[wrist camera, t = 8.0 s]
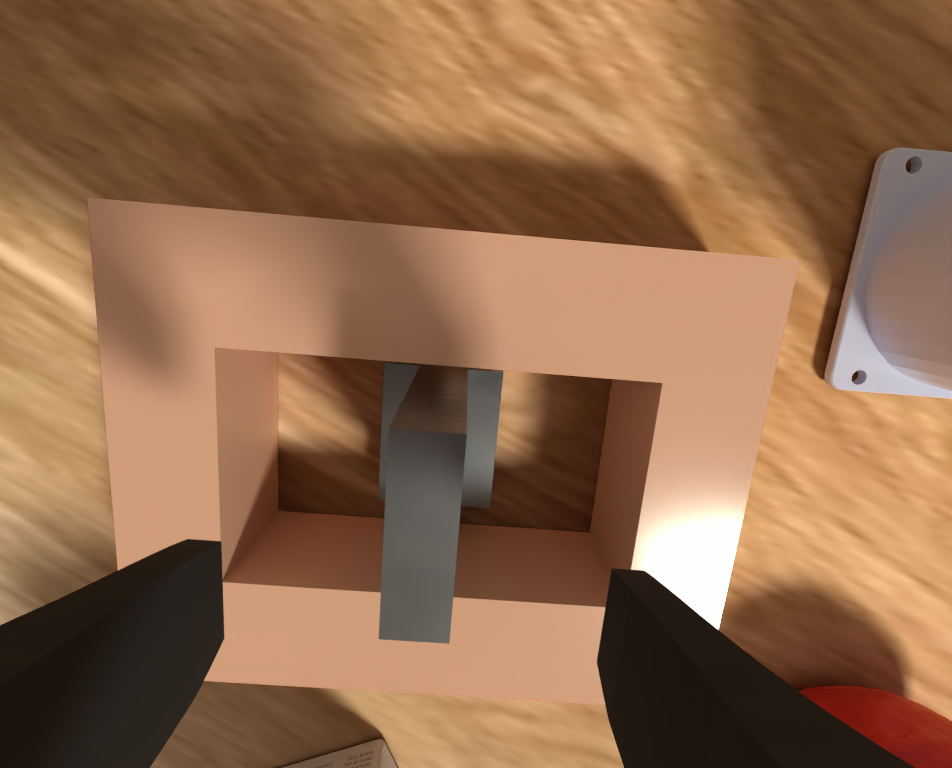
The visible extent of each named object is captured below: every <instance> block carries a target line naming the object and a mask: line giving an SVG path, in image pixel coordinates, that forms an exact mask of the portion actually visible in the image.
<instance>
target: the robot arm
mask: <svg viewBox="0 0 952 768" xmlns="http://www.w3.org/2000/svg"><path fill="white" fill-rule="evenodd" d="M908 160H910V162H911V170H910V172H909V173H908V172H907V170H906V163H907V161H908ZM856 371H858V377H857V379H856V380H855V381H853V382H852V375H853V373H855V372H856ZM824 379H825V381H826V383H827V384H828V385H829V386H830V387H833V388H836V389H840V390H850V391H862V392H875V393H887V394H900V395H912V396H925V397H937V398H950V399H952V152H947V151H936V150H926V149H915V148H905V147H899V148H894V149H890V150H887V151H885V152H884V153H882V154H881V155H880V156H879V157H878V159H877V161H876V163H875V167H874V171H873V175H872V179H871V183H870V188H869V192H868V196H867V200H866V204H865V208H864V212H863V217H862V221H861V225H860V229H859V233H858V237H857V241H856V245H855V250H854V254H853V258H852V262H851V266H850V270H849V274H848V279H847V283H846V287H845V291H844V295H843V299H842V303H841V308H840V312H839V316H838V320H837V324H836V328H835V332H834V336H833V341H832V345H831V349H830V353H829V357H828V361H827V365H826V370H825V376H824ZM223 640H224V608H223V576H222V545H221V541H209V540H195V539H186V540H184V541H181V542H179V543H176V544H174V545H171V546H169V547H167V548H164V549H162V550H160V551H158V552H156V553H154V554H151V555H149V556H147V557H145V558H143V559H141V560H139V561H137V562H135V563H133V564H130V565H128V566H126V567H124V568H122V569H120V570H118V571H116V572H114V573H112V574H110V575H108V576H106V577H104V578H102V579H99V580H97V581H95V582H93V583H91V584H89V585H87V586H85V587H83V588H81V589H79V590H77V591H75V592H72V593H70V594H68V595H66V596H64V597H62V598H60V599H58V600H56V601H53V602H51V603H49V604H47V605H44V606H42V607H40V608H38V609H36V610H33V611H31V612H29V613H27V614H24V615H22V616H20V617H18V618H16V619H13V620H11V621H9V622H7V623H4V624H2V625H0V768H150V767H151V765H152V763H153V762H154V760H155V759H156V757H157V756H158V754H159V753H160V751H161V750H162V748H163V747H164V745H165V744H166V742H167V740H168V739H169V737H170V736H171V734H172V733H173V731H174V730H175V728H176V726H177V725H178V723H179V722H180V720H181V719H182V717H183V716H184V714H185V712H186V711H187V709H188V708H189V706H190V705H191V703H192V701H193V700H194V698H195V697H196V695H197V693H198V691H199V689H200V687H201V685H202V683H203V681H204V679H205V677H206V675H207V674H208V672H209V670H210V668H211V665H212V663H213V661H214V659H215V657H216V655H217V653H218V651H219V649H220V647H221V645H222V642H223ZM597 666H598V671H599V676H600V681H601V686H602V691H603V696H604V700H605V705H606V709H607V714H608V719H609V722H610V725H611V728H612V731H613V735H614V738H615V741H616V744H617V747H618V750H619V753H620V756H621V759H622V762H623V765H624V768H915V767H913V766H912V765H910V764H908V763H907V762H905V761H903V760H902V759H900V758H898V757H897V756H895V755H894V754H892V753H890V752H889V751H887V750H885V749H884V748H882V747H881V746H879V745H878V744H876V743H875V742H873V741H872V740H870V739H868V738H867V737H865V736H864V735H862V734H861V733H859V732H858V731H856V730H855V729H853V728H852V727H850V726H849V725H847V724H845V723H844V722H842V721H841V720H839V719H838V718H836V717H835V716H833V715H832V714H830V713H829V712H827V711H826V710H824V709H823V708H821V707H820V706H818V705H817V704H816V703H814V702H813V701H811V700H810V699H808V698H807V697H806V696H804V695H803V694H801V693H800V692H799V691H797V690H796V689H795V688H793V687H792V686H790V685H789V684H788V683H786V682H785V681H784V680H782V679H781V678H780V677H778V676H777V675H775V674H774V673H773V672H771V671H770V670H769V669H767V668H766V667H765V666H763V665H762V664H761V663H759V662H758V661H757V660H755V659H754V658H753V657H752V656H750V655H749V654H748V653H746V652H745V651H744V650H743V649H741V648H740V647H739V646H737V645H736V644H735V643H734V642H732V641H731V640H730V639H729V638H727V637H726V636H725V635H724V634H722V633H721V632H720V631H719V630H718V629H716V628H715V627H714V626H713V625H711V624H710V623H709V622H708V621H707V620H705V619H704V618H703V617H702V616H700V615H699V614H698V613H697V612H696V611H694V610H693V609H692V608H691V607H690V606H688V605H687V604H686V603H685V602H684V601H682V600H681V599H680V598H679V597H677V596H676V595H675V594H674V593H673V592H671V591H670V590H669V589H668V588H667V587H665V586H664V585H663V584H662V583H660V582H659V581H658V580H656V579H655V578H654V577H653V576H651V575H650V574H648V573H647V572H646V571H644V570H629V569H615V568H612V570H611V576H610V582H609V589H608V595H607V601H606V607H605V613H604V620H603V626H602V632H601V638H600V645H599V651H598V657H597Z"/></svg>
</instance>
